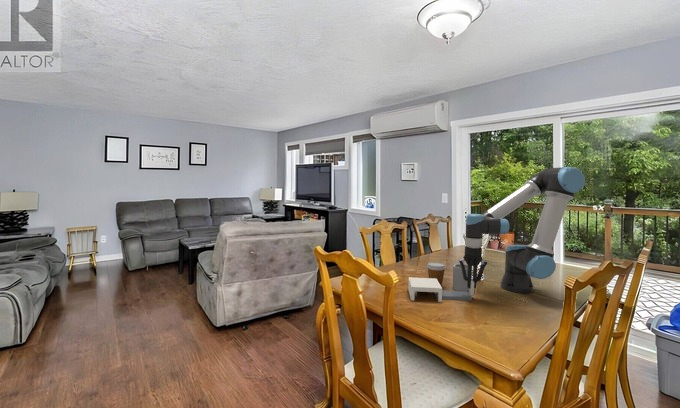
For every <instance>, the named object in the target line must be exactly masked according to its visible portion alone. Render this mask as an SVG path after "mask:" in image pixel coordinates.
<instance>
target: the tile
mask: <svg viewBox="0 0 680 408" xmlns="http://www.w3.org/2000/svg"><path fill="white" fill-rule="evenodd" d="M433 294H434V297H435V298H436V300H438V292H433ZM442 300H452V301H455V300H456V301H467V302H468V301H470V302H471V301H473V296H470V294H469V292H466V291H457V290H446V289H445V290H443V289H442Z"/></svg>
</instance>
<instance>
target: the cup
mask: <svg viewBox="0 0 680 408" xmlns="http://www.w3.org/2000/svg"><path fill="white" fill-rule="evenodd" d="M467 265H468V264H465V263H464V266H465V271H466V275H467V272H468V266H467ZM471 281H473V273H472V274H471ZM452 289H453V291H466V292H468V293H469V288H468V287H467V281H466V280H464V278H463V274H462V269H461V264H460V263H456V264H453V266H452Z"/></svg>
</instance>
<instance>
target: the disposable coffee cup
mask: <svg viewBox="0 0 680 408" xmlns="http://www.w3.org/2000/svg"><path fill="white" fill-rule="evenodd" d="M426 267H427V273H428V274H427V275H428V278H436V279H437V280H438V282H439V284H440V285H441V287H442V286H443V282H444V275H445V270H446V268H447V267H446V265H445V263H442V262H435V261H434V262H433V261H431V262H428V263H427V265H426ZM442 288H443V287H442Z"/></svg>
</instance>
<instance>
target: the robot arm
mask: <svg viewBox="0 0 680 408" xmlns="http://www.w3.org/2000/svg"><path fill="white" fill-rule="evenodd" d="M585 184H586V177H585V175H584V173H583V171H582V170H580V169H579V168H577V167H573V166H563V167H548V168H546V169H543V170H541V171H539V172H538V173H536V174H534V175H533V176H531V177H529V178H528V179H527V180H526V181H525V182H524V184H523V185H522V186H520V187H519V188H517V189H516V190H515V191H513V192H511V193H509V195H507V196H506V197H504V198H503V199H502V200H500V201H499V202H498V203H495V205H493V206H491V207H490V208H489V209H487V210H486V211H484V212H482V213H481V214H479V213H468V214H467V215H466V219H465V240H464V241H465V243H464V245H465V246H464V255H463V258H462V259H458V264H461V269H462V274H463V278H464V280H466V281H467V287H468V288H469V292H468V293H469V294H470V296H471V297H474V295H475V291H474V290H476V289H477V283H478V282H481V280H482V277H483V275H484V272H485V268H486V266H487V265H488V261H486V260H484V259H483V257H482V256H483V254H482V253H483V252H482V251H483V248H482V247H483V235H499V236H500V235H507V234H508V233H509V232H510V222H509V220H508V219H506V218H505V217H506V216H508V215H509V214H510V213H513V212H514V211H515V210H516V209H518V208H520V207H521V206H522V205H524V204H525V203H527V202H528V201H530V200H531V199H533V198H534V197H539V196H541V195H543V194H546V199H545V201H544V202H545V203H544V205H543V207H542V208H543V209H542V210H541V214H540V217H539V221H538V223H537V225H536V228H535V232H534V234H533V238H532V239H531V240H532V241H531V242H530V243H529V244H508V245H506V247H505V261H504V262H505V263H504V274H503V275H502V278H501V281H500V287H501V289H504V290H506V291H508V292H513V293H518V294H519V293H520V294H529V293H533V292H534V283H533V280H532V278H535V279H539V280H543V279H544V280H545V279H547V278H550V277H551V276H552V275H554V273H555V271H556V267H557V265H556V262H555V261H556V260H554V255H555V253H554V251H553V246H554V244H555V241H556V238H557V235H558V232H559V229H560V226H561V224H562V220H563V218H564V215H565V211H566V209H567V206H568V204H569V201H571V200H572V199H574V198H575V194H576V193H578V192H580V191H582V190H583V188H584V187H585ZM465 263H466V265H467V266H468V272H467V275H466V271H465V266H464V264H465ZM479 265H480V266H479ZM478 268H479V269H478ZM471 274H472V281H471ZM531 277H532V278H531Z"/></svg>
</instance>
